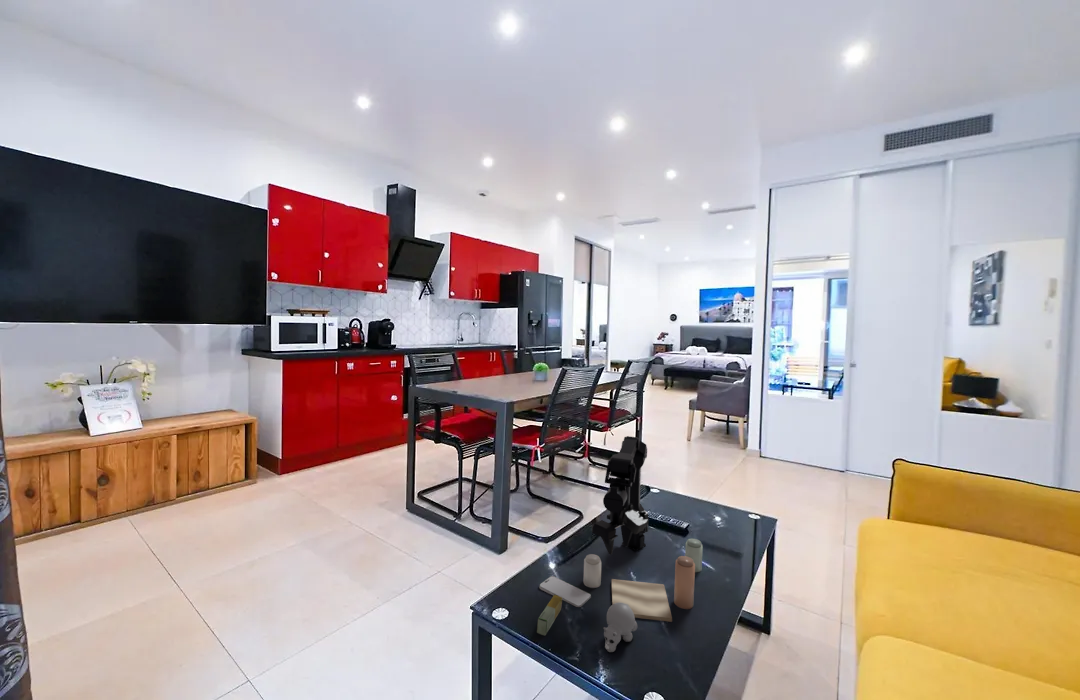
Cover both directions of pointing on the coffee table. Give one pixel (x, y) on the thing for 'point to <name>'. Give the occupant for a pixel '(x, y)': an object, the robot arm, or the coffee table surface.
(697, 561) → the sage jar
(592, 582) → the cream jar
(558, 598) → the medication box
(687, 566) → the terracotta jar
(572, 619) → the coffee table surface
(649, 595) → the beige cloth
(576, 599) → the smartphone
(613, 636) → the chubby cartoon animal
